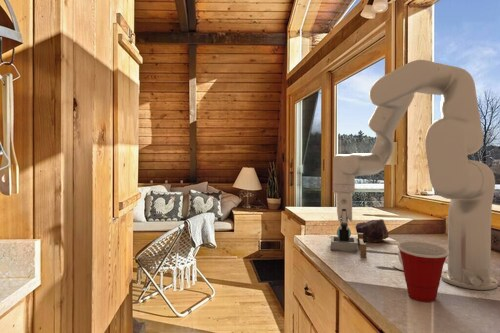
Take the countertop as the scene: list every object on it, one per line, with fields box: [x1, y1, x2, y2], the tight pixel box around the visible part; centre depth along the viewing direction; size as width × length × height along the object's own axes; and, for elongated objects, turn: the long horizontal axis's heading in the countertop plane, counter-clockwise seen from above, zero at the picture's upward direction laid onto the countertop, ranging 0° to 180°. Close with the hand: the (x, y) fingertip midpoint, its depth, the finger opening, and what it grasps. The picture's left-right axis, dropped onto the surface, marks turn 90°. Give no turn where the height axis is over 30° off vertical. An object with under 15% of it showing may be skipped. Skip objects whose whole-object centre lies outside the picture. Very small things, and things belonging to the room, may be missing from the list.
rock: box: [355, 218, 390, 244], centre depth 138 cm, size 12×9×10 cm
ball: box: [336, 227, 352, 237], centre depth 128 cm, size 5×5×5 cm
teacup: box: [392, 249, 404, 272], centre depth 105 cm, size 10×10×5 cm
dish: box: [330, 235, 359, 253], centre depth 128 cm, size 9×9×3 cm
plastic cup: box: [397, 240, 449, 303], centre depth 82 cm, size 11×11×12 cm
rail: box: [357, 233, 367, 259], centre depth 124 cm, size 18×2×4 cm, turn 166°
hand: (343, 238), depth 128 cm, fingers closed on ball, 4 cm apart
